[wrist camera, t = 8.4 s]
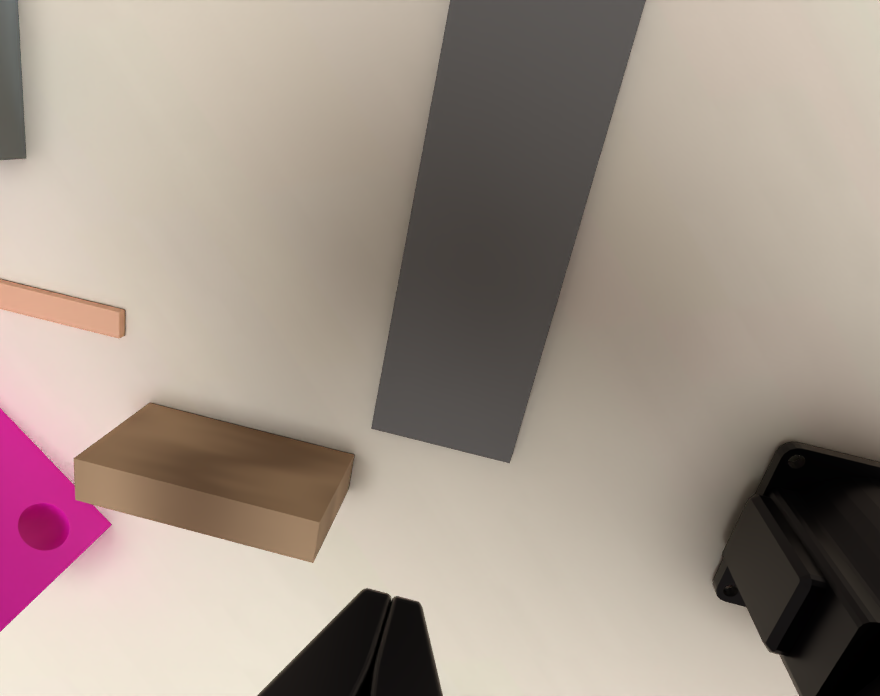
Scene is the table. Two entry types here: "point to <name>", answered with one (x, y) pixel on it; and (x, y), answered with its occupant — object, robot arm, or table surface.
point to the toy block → (36, 521)
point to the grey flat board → (498, 212)
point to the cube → (11, 84)
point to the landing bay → (62, 309)
